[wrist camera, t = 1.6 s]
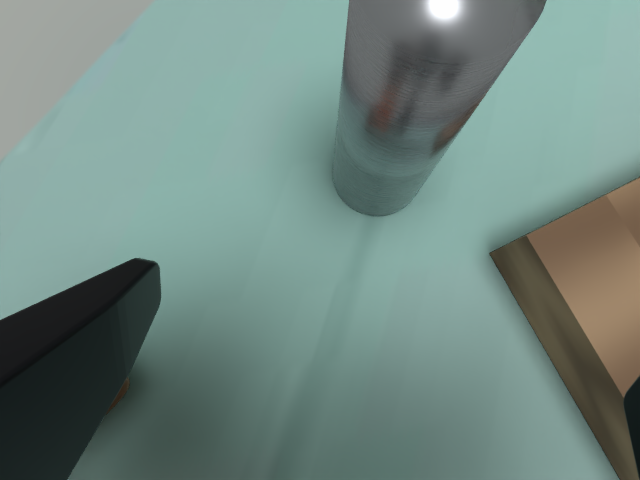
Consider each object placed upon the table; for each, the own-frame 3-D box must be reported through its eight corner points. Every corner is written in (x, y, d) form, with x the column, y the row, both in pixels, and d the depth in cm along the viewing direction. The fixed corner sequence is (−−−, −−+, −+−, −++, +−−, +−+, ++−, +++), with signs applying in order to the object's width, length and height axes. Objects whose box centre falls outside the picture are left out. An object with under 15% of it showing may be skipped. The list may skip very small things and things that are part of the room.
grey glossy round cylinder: (436, 192, 23) (587, 12, 10) (357, 230, 22) (411, 91, 10) (394, 119, 24) (485, -135, 11) (317, 154, 23) (319, -67, 10)
